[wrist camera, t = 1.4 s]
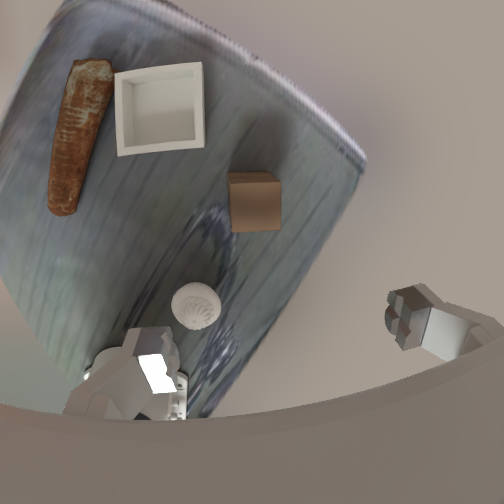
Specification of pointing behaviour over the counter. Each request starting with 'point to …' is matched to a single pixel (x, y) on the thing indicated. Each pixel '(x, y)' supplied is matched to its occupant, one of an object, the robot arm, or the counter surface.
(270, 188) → the walnut block
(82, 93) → the bread
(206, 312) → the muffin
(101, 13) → the counter surface
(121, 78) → the bin
